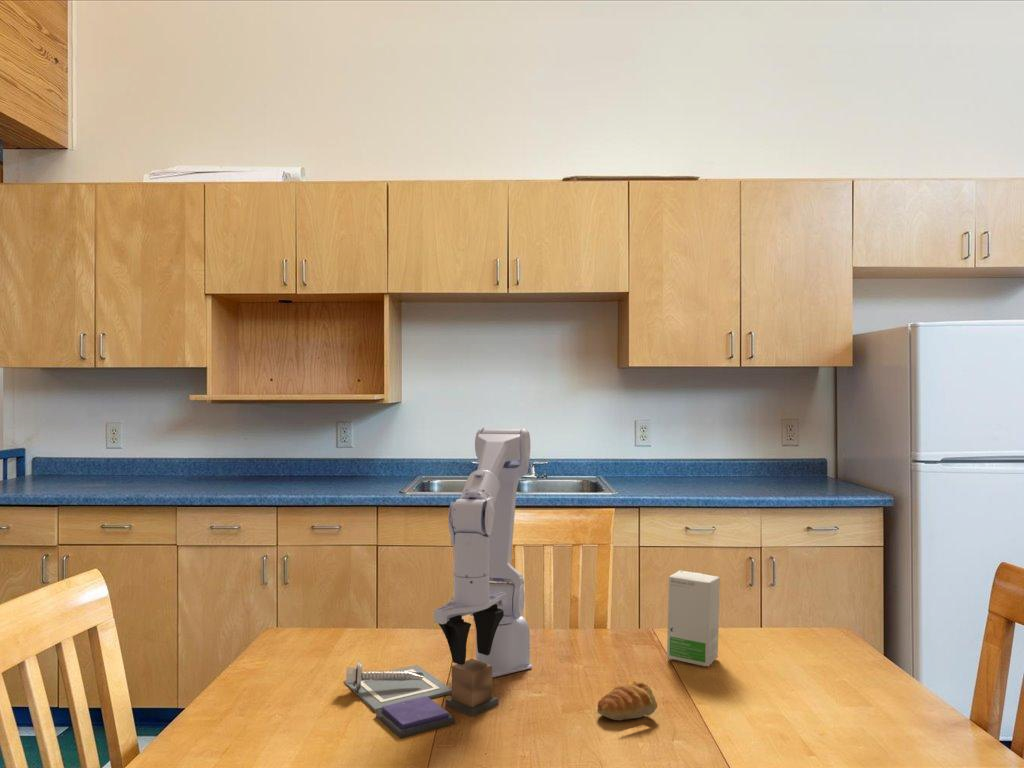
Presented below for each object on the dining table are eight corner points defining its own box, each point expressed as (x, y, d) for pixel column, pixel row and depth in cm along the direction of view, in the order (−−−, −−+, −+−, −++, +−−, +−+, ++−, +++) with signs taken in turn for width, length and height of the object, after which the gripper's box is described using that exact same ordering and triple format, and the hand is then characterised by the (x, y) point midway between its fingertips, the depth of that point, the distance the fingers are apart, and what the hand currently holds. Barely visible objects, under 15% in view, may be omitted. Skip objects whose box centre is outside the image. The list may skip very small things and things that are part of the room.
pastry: (615, 728, 114) (615, 702, 114) (586, 711, 120) (586, 687, 120) (660, 712, 119) (661, 688, 119) (631, 697, 125) (631, 674, 125)
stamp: (472, 695, 127) (472, 656, 127) (498, 705, 123) (498, 665, 123) (445, 706, 123) (445, 666, 123) (472, 717, 119) (472, 675, 119)
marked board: (417, 667, 140) (417, 664, 140) (453, 693, 128) (453, 689, 128) (343, 683, 132) (343, 680, 132) (375, 712, 121) (375, 708, 121)
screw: (345, 696, 125) (347, 666, 125) (345, 685, 130) (347, 656, 130) (424, 696, 128) (426, 666, 128) (422, 685, 133) (424, 657, 133)
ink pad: (428, 703, 124) (428, 693, 124) (454, 723, 116) (454, 713, 116) (376, 716, 119) (376, 706, 119) (400, 738, 112) (400, 727, 112)
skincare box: (666, 659, 144) (665, 576, 144) (678, 649, 150) (677, 569, 150) (710, 667, 140) (709, 582, 140) (720, 656, 145) (720, 574, 146)
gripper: (484, 562, 131) (485, 641, 131) (420, 577, 121) (420, 664, 121) (515, 568, 127) (515, 651, 127) (451, 585, 116) (451, 675, 116)
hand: (471, 658), depth 123 cm, fingers open, 5 cm apart
